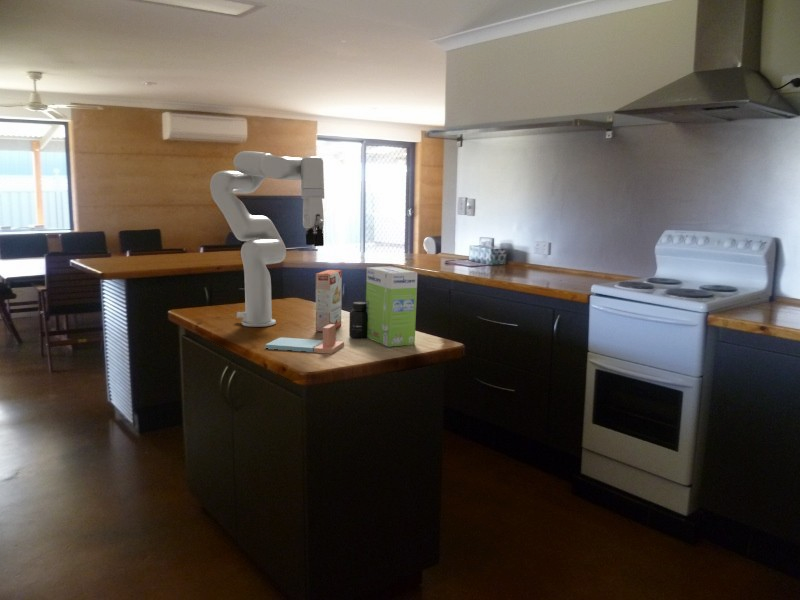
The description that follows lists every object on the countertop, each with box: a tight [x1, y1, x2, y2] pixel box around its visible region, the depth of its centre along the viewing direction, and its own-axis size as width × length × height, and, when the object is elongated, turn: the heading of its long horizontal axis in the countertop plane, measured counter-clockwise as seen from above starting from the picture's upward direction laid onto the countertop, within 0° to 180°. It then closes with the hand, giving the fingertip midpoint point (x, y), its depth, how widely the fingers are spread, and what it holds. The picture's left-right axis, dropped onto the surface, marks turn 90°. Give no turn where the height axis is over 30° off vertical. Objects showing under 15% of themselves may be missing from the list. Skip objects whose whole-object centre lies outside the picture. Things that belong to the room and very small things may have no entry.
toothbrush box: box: [365, 265, 418, 348], centre depth 215 cm, size 18×10×24 cm, turn 30°
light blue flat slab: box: [264, 336, 323, 353], centre depth 207 cm, size 16×11×1 cm
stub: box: [313, 324, 345, 355], centre depth 204 cm, size 6×11×7 cm, turn 166°
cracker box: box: [315, 269, 343, 333], centre depth 234 cm, size 14×6×21 cm, turn 168°
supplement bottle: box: [348, 301, 369, 340], centre depth 221 cm, size 7×7×12 cm
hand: (314, 245), depth 221 cm, fingers open, 9 cm apart
